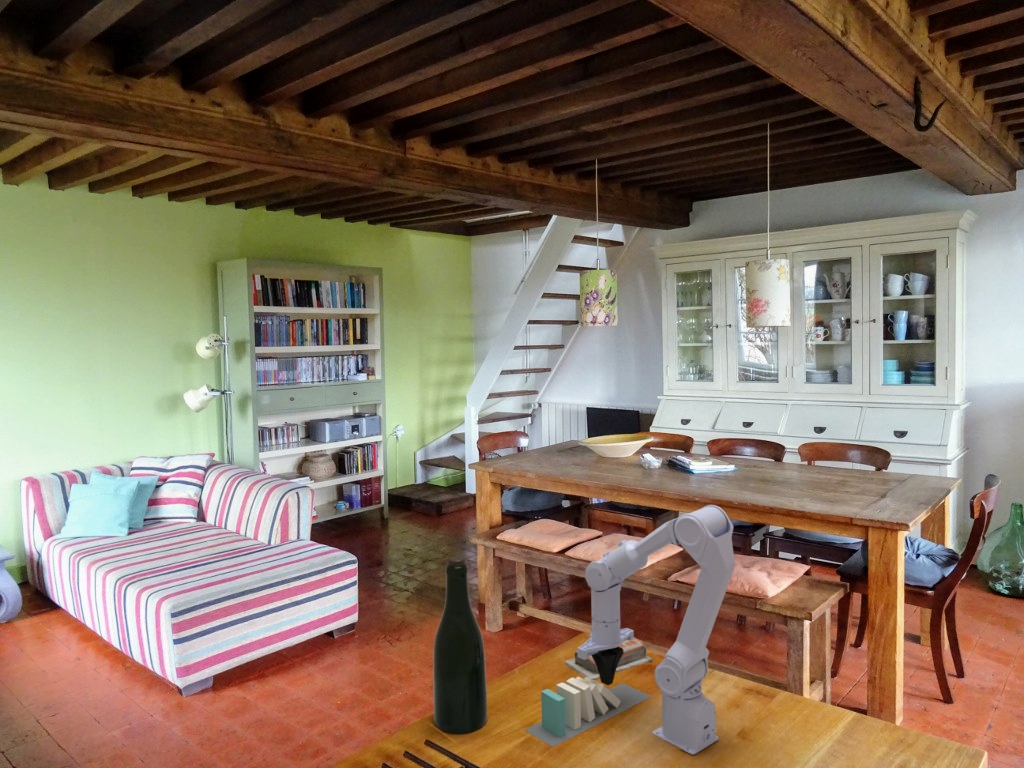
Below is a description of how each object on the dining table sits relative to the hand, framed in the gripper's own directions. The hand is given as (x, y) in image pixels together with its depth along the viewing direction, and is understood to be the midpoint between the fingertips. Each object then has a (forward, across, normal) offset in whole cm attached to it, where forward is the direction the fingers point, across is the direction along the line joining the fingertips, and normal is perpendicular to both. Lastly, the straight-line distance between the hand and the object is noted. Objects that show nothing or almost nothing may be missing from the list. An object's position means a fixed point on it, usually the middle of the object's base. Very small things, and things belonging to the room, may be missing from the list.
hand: (606, 682), depth 151 cm
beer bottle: (+5, +26, -15) cm, 30 cm away
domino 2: (+4, +11, 0) cm, 12 cm away
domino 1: (+4, +15, 0) cm, 15 cm away
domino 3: (+4, +7, 0) cm, 8 cm away
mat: (+5, +5, 0) cm, 7 cm away
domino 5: (+4, -1, 0) cm, 4 cm away
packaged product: (+6, -14, -13) cm, 20 cm away
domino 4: (+4, +3, 0) cm, 5 cm away
